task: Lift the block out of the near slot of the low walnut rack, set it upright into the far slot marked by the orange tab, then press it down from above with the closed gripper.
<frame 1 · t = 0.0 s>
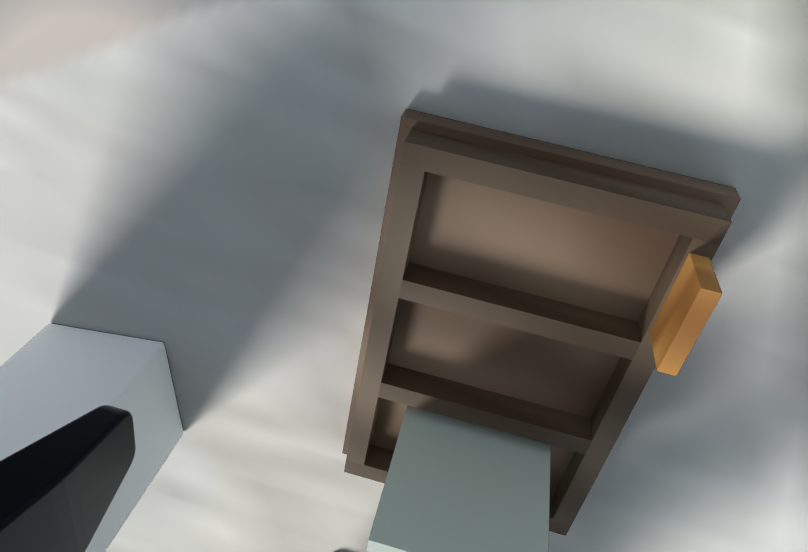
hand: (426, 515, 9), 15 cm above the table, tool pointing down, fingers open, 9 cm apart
milk: (121, 376, 32), on the table
rack: (502, 339, 25), on the table
block: (471, 438, 28), point 1 cm above the table, touching rack
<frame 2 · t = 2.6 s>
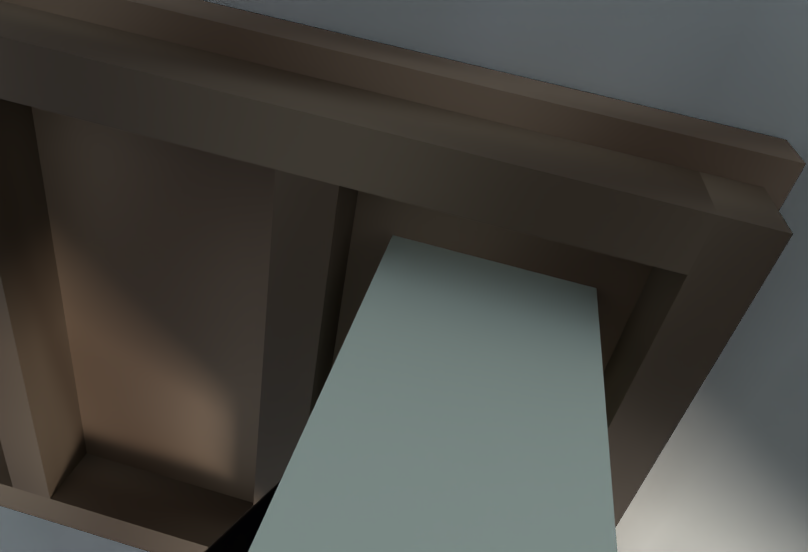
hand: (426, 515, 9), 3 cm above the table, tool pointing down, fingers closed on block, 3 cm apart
rack: (194, 303, 12), on the table
block: (449, 406, 11), point 1 cm above the table, touching gripper, rack
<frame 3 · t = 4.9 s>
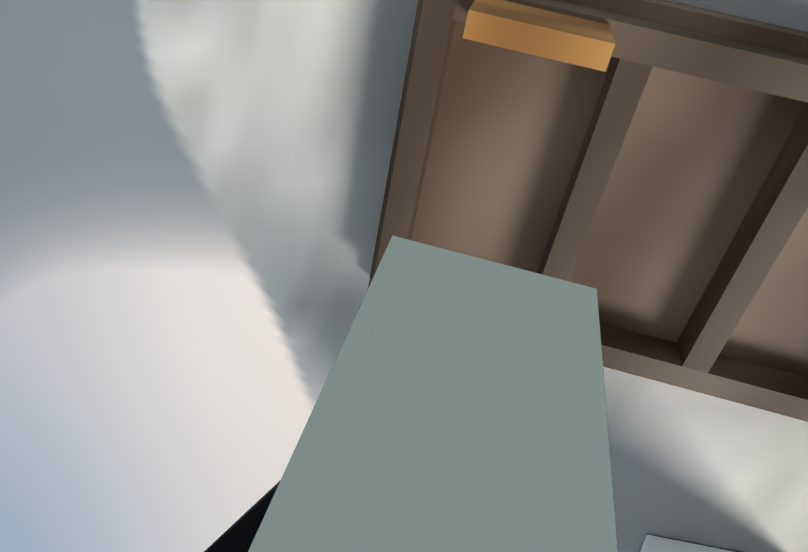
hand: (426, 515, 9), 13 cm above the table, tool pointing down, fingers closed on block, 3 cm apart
rack: (660, 203, 19), on the table
block: (449, 407, 11), point 11 cm above the table, touching gripper
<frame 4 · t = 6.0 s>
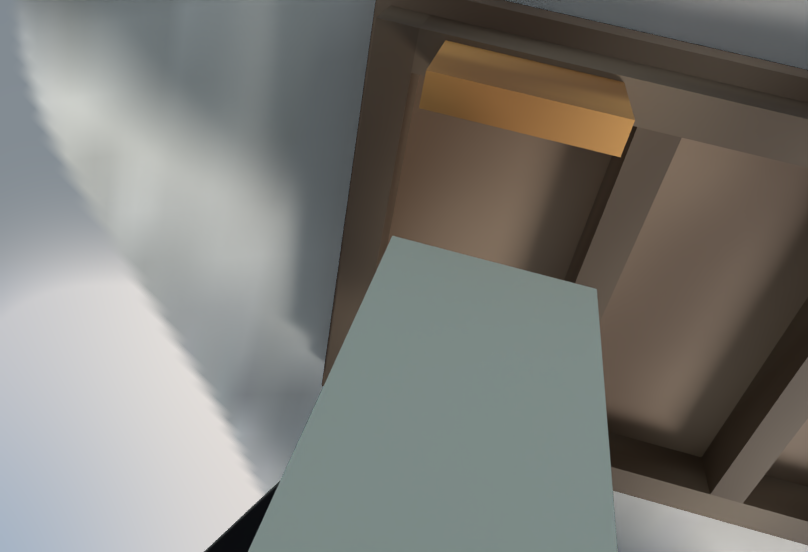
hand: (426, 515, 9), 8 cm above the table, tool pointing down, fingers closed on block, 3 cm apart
rack: (683, 292, 15), on the table
block: (449, 407, 11), point 6 cm above the table, touching gripper
when the fingers open (4 cm above the table, at t = 7.2 s): block stays where it is, resting on rack.
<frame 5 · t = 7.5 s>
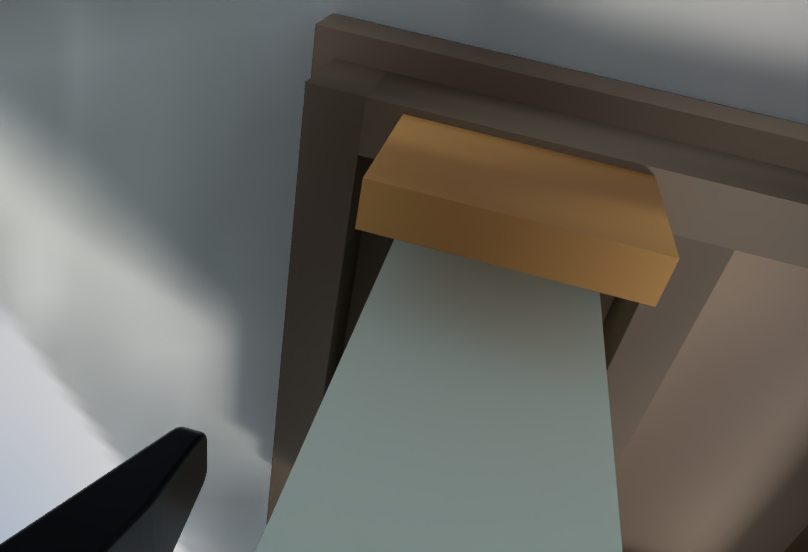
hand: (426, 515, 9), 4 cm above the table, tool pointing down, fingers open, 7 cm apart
rack: (720, 412, 12), on the table
block: (458, 369, 12), point 1 cm above the table, touching rack
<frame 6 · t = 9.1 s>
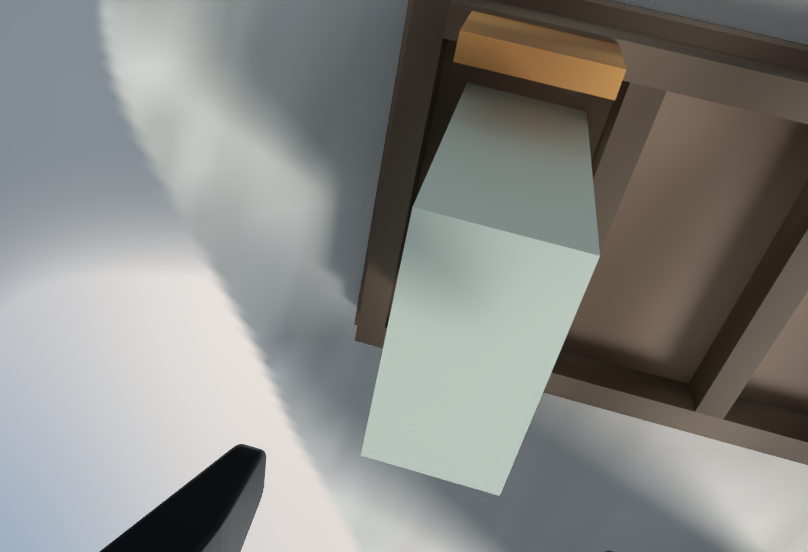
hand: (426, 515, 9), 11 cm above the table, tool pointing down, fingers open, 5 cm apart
rack: (671, 235, 18), on the table
block: (495, 203, 18), point 1 cm above the table, touching rack
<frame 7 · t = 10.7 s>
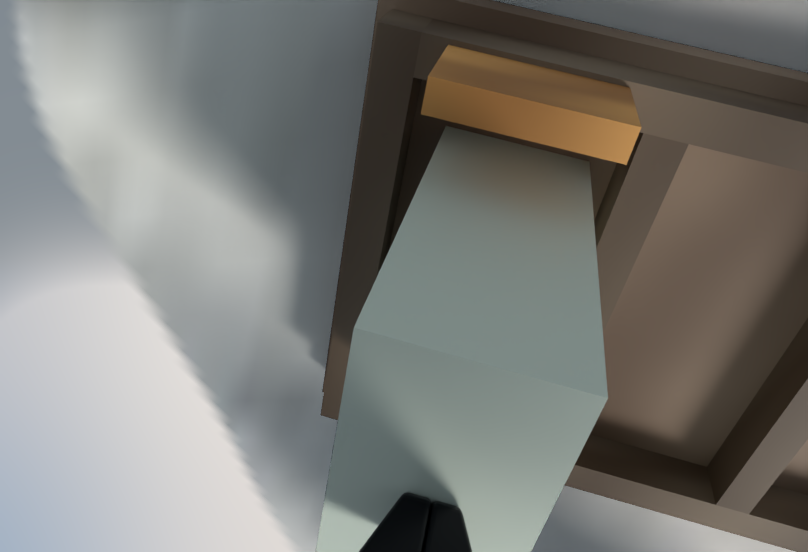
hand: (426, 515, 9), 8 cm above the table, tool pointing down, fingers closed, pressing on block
rack: (689, 300, 15), on the table
block: (481, 263, 15), point 1 cm above the table, touching gripper, rack
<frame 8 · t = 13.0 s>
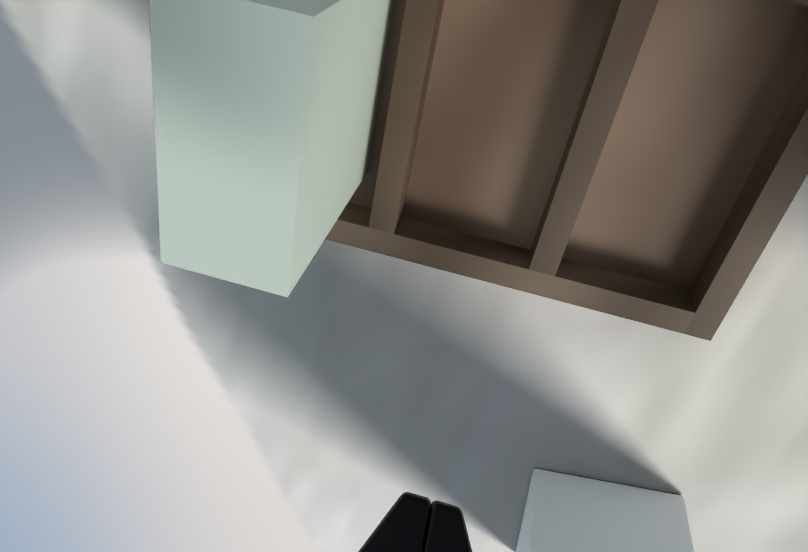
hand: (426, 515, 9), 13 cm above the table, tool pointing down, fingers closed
milk: (592, 522, 28), on the table
rack: (501, 97, 19), on the table
block: (331, 65, 18), point 1 cm above the table, touching rack
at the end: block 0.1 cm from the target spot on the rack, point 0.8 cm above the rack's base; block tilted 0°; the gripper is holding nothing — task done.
